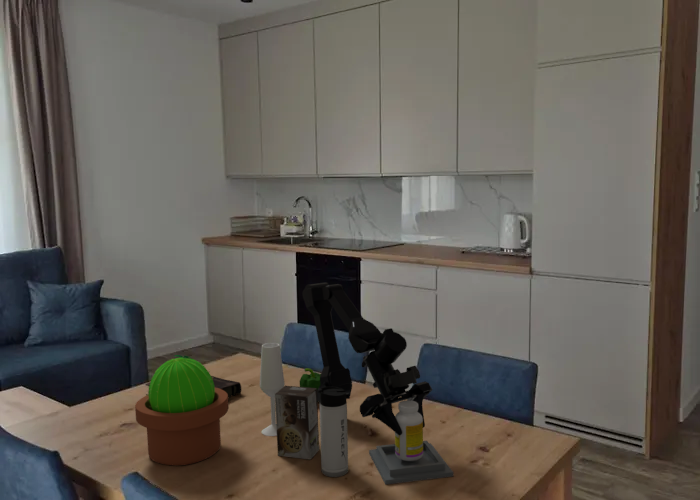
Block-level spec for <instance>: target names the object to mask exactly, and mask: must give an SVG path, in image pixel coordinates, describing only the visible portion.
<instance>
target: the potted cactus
mask: <svg viewBox="0 0 700 500" xmlns="http://www.w3.org/2000/svg"><path fill="white" fill-rule="evenodd" d="M174 357H176V358H173V357H171V358H170V359H168V360H167V361H164V363H163V364H160V365H159V366H158V367H157V369H156V370H155V371H154V370H153V372H154V374H153V375H152V376H151V380H150V381H149V382H150V385H149V386H146V389H148V390H147V392H148V393H147V394H148V395H146V394H145V395H144V396H142V397H141V398H140V399H138V400H137V401H136V403H135V405H134V406H135V407H134V408H135V409H134V410H135V420H136V423H137V424H138V425H140V426H142V427H144V428H146V436H147V437H146V438H147V439H146V440H147V453H148V456H149V458H150V460H152V461H153V462H155V463H158V464H161V465H166V466H186V465H188V466H189V465H192V464H193V465H194V464H196V463H199V462H201V461H202V462H203V461H204V460H206V459H208V458H210V457H212V456H214V455H215V454H216V453H217V452H218V451H219V450H220V448H221V445H222V441H221V440H222V439H221V418H223V417H224V416H225V415H226V414H227V413H228V412H229V398H228V394H227V393H226V392H225V391H224V390H222V389H219V388H216V387H214V382H213V378H212V377H211V376H212V375H211V373H210V372H211V370H210V369H207V368H206V367H205V365H203V364H202V363H201V361H198V360H196V359H194V358H191V356H188V355H180V354H174Z"/></svg>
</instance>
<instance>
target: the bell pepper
mask: <svg viewBox="0 0 700 500" xmlns="http://www.w3.org/2000/svg"><path fill="white" fill-rule="evenodd" d="M303 371H304V372H305V373H302V375H301V377H300V379H299V387H308V388H317V389H318V388H319V386H320V385H321V383H320V376H321V373H319V372H316V371H314V370H313V369H312V368H310V367H309V368H304V370H303ZM306 372H309V373H310V374H309V373H306ZM317 403H319V402H318V401H317Z"/></svg>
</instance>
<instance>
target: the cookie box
mask: <svg viewBox="0 0 700 500" xmlns="http://www.w3.org/2000/svg"><path fill="white" fill-rule="evenodd" d="M275 416H276V426H277V436H276V441H277V442H276V446H277V447H276V448H277V456H278V457H287V458H293V459H294V458H296V459H303V460H311V459H313V457H314V456H316V454H317V453H318V452H319V450H320V439H319V437H320V434H319V433H320V432H319V431H320V430H319V407H318V402H317V388H308V387H300V386H297V385H296V386H295V385H294V386H293V385H284V387H283V388H281V389H280V390H279V391H278V392H277V393H276V394H275Z"/></svg>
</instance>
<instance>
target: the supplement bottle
mask: <svg viewBox="0 0 700 500" xmlns="http://www.w3.org/2000/svg"><path fill="white" fill-rule="evenodd" d="M397 409H398V410H399V412H396V413H395V414H394V416H395V418H396V420H397V422H398V424H399V426H400V428H401V431H402V434H401V435H398V434H397V433H396V432H394V444H395V454H396V456H397V457H398V458H399V459H401V460H405V461H415V460H418V459H420V458H421V457H422V456H423V441H424V428H423V418H422V415H421V414H420V413H418V412H417V411H418V403H417V402H415V401H410V400H403V401H399V402H398V407H397Z"/></svg>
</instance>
